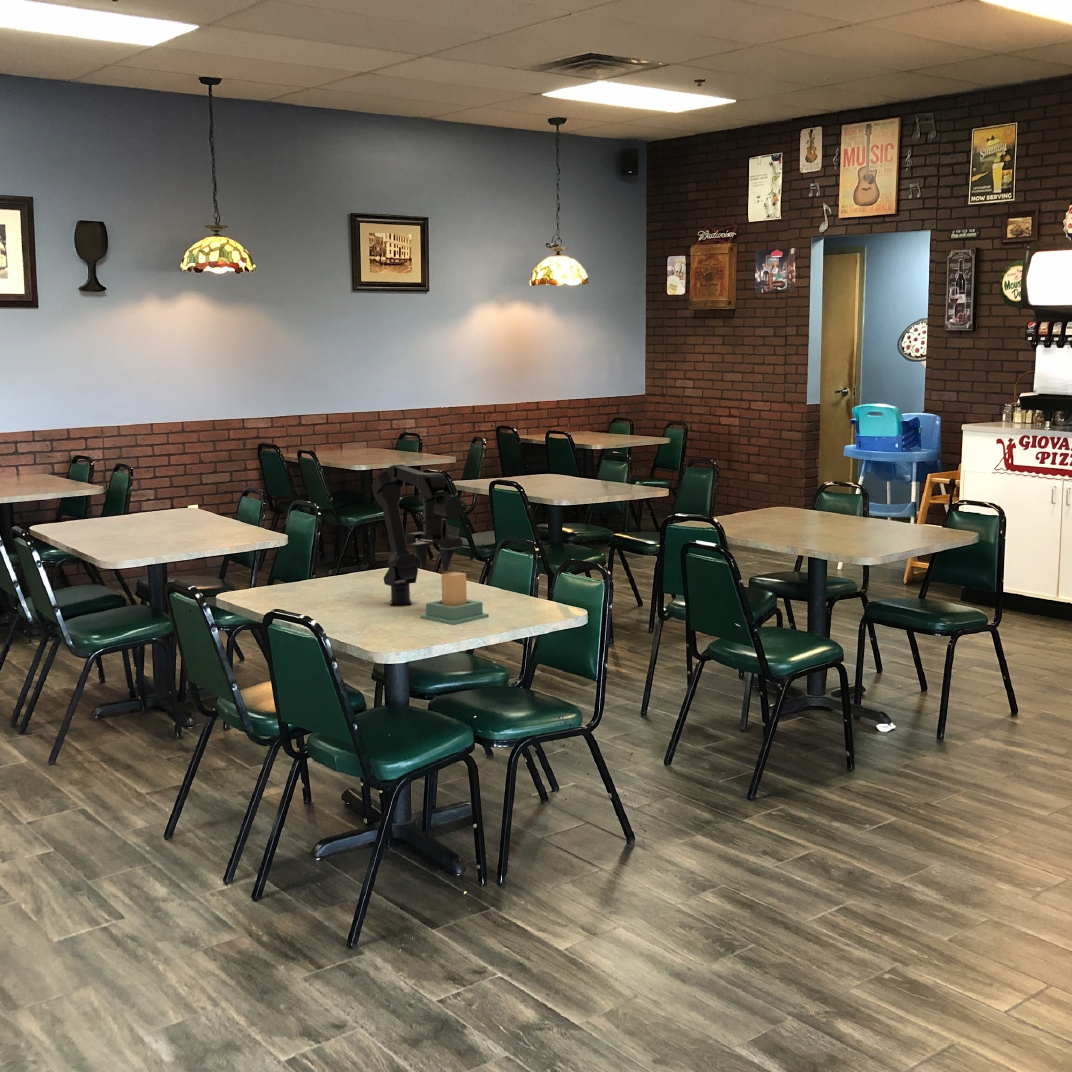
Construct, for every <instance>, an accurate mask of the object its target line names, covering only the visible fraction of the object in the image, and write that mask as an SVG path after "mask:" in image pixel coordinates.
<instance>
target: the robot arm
mask: <svg viewBox="0 0 1072 1072" xmlns="http://www.w3.org/2000/svg"><path fill="white" fill-rule="evenodd" d="M447 480H448V479H447V478H446V477H445V474H443V473H442V472H424V471H421V470H418V469H414V468H412V467H410V466H407V465H405V464H392V465H389V467H388V468H387V470H385V471H384V472H382V473H381V474H379V475H378V476H377V477H376V478H375V479H374V481H373V482H372V485H371V490H372V492H373V496H374V498H375V499H374V500H375V501H376V502H377V503H378V505H379V506H380V507H381V508H382V512H383V516H384V517H383V518H384V521H385V522H384V523H385V527H386V532H387V536H388V542H389V547H390V556H389V560H388V562H387V563H388V569H387V571H386V573H385V575H384V576H383V582H384V585H385V586H389V587H390V598H391V599H390V600H389V605H390V606H411V605H412V599H411V594H410V593H411V591H410V587H411V586H410V584H415V583H417V577H418V572H419V568H418V567H419V564H418V562H417V559H418V561H419V562H420V565H421V567H422V568H426V567H427V562H428V561H427V559H428V556H427V555H428V547H429V546H430V545H431V544H437V545H439V546H440V548H438V551H439V554H440V560H441V565H442V568H443V571H444V572H447V571H448V570H449V567H450V564H451V561H452V558H453V555H454V553H455V552H456V551H457V550H460V547H462V548H463V546H464V544H463V543H464V541H463V538H462V537H461V536H459V531H460V528H459V527H456V526H453V525H450V524H448V520H452V521H453V520H458V518H460V516H461V514H462V511H463V507H462V505H461V503H460V502H459V501H458V500H457V498H456V495H454V494H453V490H452V489H451V487H450V485H449V483H448V481H447ZM406 483H408V484H411V485H412V486H415V487H416V488H417V491H419V492H421V493H422V495H421V496H420V497H419V500H420V501H423V519H422V520H420V524H421V525H423V530H424V532H423V531H416V532H415V531H414V532H409V533H407V535H405V530H404V526H403V521H402V520H403V519H402V516H401V511H400V506H399V503H400V500H401V497H402V488H403V487H404V486H405V484H406ZM408 544H409V547H411V548H412V550H413V552H414V553H411V552H410V551H409V550H408V546H407V545H408Z"/></svg>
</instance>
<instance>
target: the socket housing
mask: <svg viewBox="0 0 1072 1072" xmlns="http://www.w3.org/2000/svg"><path fill="white" fill-rule="evenodd" d="M425 605H426V607H425V612H426V613H425V614H420V615H419V618H420V619H424V620H427V621H432V622H438V623H442V624H443V623H444V624H448V625H453V626H454V625H459V624H463V623H468V622H472V621H477V620H480V619H484V618H489V617H490V614H489V613H487V612H486V613H485V612H484V611H483V602H482V601H479V600H478V601H477V600H472V599H467V604H463V605H459V606H448V605H443V604H442V599H441V600H436V601H431V602H426V604H425Z"/></svg>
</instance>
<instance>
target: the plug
mask: <svg viewBox="0 0 1072 1072" xmlns="http://www.w3.org/2000/svg"><path fill="white" fill-rule="evenodd" d="M440 575H441V600H442V604H443V605H448V606H459V605H463V604H467V600H468V599H467V573H465V572H464V573H463V572H459V571H451V572H445V573H441V574H440Z"/></svg>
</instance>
